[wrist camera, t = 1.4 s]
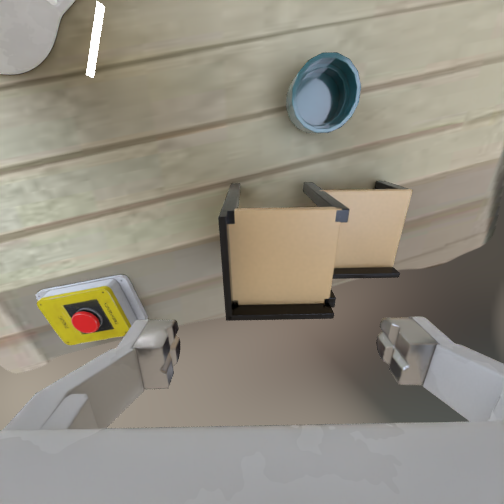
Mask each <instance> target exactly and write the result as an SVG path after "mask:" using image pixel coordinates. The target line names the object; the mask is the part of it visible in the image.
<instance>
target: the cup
mask: <svg viewBox="0 0 504 504" xmlns="http://www.w3.org/2000/svg"><path fill="white" fill-rule="evenodd" d="M360 91H361V83H360V78H359V73H358V70H357V69H356V67H355V66H354V65H353V63H352V62H351V60H350V59H349V58H347V57H345V56H343V55H341V54H339V53H337V52H333V53H321V54H319V55H317V56H315V57H313V58H312V59H310V60H309V61H308V62H307V63H306V64H305V65H304V66H303V67H302V69H301V70H300V71H299V72H298V73H297V75H296V76H295V77H294V79H293V80H292V82H291V84H290V87H289V89H288V92H287V99H286V109H287V112H288V115H289V118H290V120H291V121H292V123H293V124H294V125H295V126H296V127H297V128H298V129H299V130H301V131H304V132H306V133H329V132H331V131H334V130H336V129H338V128H340V127H342V126H343V125H344V124H345V123H346V122H347V121H348V120H349V119H350V118H351V117H352V115H353V113H354V111H355V109H356V107H357V105H358V103H359V97H360Z"/></svg>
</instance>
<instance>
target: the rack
mask: <svg viewBox="0 0 504 504" xmlns="http://www.w3.org/2000/svg"><path fill="white" fill-rule="evenodd" d="M412 191H413V190H411V189H408V188H405V187H402V186H399V185H396V184H393V183H390V182H386V181H376V184H375V189H361V190H323V189H321V188H320V187H318V186H317V185H316V184H314V183H313V182H304V185H303V192H304V193H305V194H306V195H307V196H308V197H309V198H310V199H311V200H312V201H313V202H314V203H315V204H316V205H317V207H294V208H238V206H239V199H240V183H235V184H231V185H230V188H229V191H228V193H227V196H226V199H225V201H224V204H223V206H222V209H221V212H220V215H219V217H218V219H219V232H220V246H221V259H222V272H223V285H224V298H225V312H226V320H276V319H277V320H278V319H328V318H329V319H331V318H333V317H334V313H333V310H332V308H331V307H334V306H335V299H336V297H335V296H334V294H333V292H332V290H331V285H332V279H338V278H391V277H399V275H400V273H399V272H398V271H397V270H396V269H395V268H393V264H394V260H395V256H396V252H397V248H398V245H399V241H400V237H401V233H402V229H403V225H404V222H405V218H406V214H407V210H408V206H409V203H410V199H411V195H412Z"/></svg>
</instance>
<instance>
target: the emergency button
mask: <svg viewBox="0 0 504 504" xmlns="http://www.w3.org/2000/svg"><path fill="white" fill-rule="evenodd" d="M36 298H37V299H38V302H37V306H38V308H39V309H40V310H41V312H42V313H43V315H44V316H45V317H46V319H47V320H48V321H49V323H50V324H51V326H52V327H53V328H54V330H55V331H56V333H57V334H58V335H59V337H60V338H61V340H62V341H63V342H64V343H65V344H67V345H75V344H81V343H87V342H92V341H98V340H104V339H110V338H116V337H121V336H125V334H126V333H127V332H128V330H129V329H130V327H131V326H132V324H133V323H134V322H135V321H136V320H147V319H148V316H147V314H146V312H145V310H144V308H143V306H142V304H141V302H140V300H139V298H138V296H137V294H136V292H135V290H134V288H133V286H132V283H131V281H130V279H129V278H128V277H127V276H125V275H115V276H110V277H105V278H100V279H94V280H89V281H84V282H79V283H74V284H69V285H63V286H58V287H53V288H48V289H43V290H41V291H39V292H38V293H37V294H36Z"/></svg>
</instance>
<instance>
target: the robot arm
mask: <svg viewBox="0 0 504 504" xmlns="http://www.w3.org/2000/svg"><path fill="white" fill-rule="evenodd" d="M74 1H75V0H0V74H8V75H12V74H20V73H24V72H27V71H30V70H32V69H33V68H35V67H37V66H38V65H39V64H40V63H41V62H42V61H43V60H44V59H45V58H46V57H47V56H48V54H49V52H50V51H51V49H52V47H53V44H54V42H55V39H56V35H57V31H58V27H59V23H60V20H61V18H62V15H63V14H64V13H65V12H66V11H67V10H68V9H69V7H70V6H71V5H72V4H73V3H74ZM104 9H105V7H104V6H103V5H102V4H101V3H99V2H97V4H96V11H95V18H94V25H93V31H92V38H91V45H90V52H89V59H88V66H87V73H86V75H88V76H90V77H93V78H94V72H95V66H96V60H97V53H98V47H99V41H100V34H101V28H102V21H103V15H104ZM380 328H381V329H382V332H381V333H380V334H379V335H378V337H377V342H376V343H377V350H378V353H379V355H380V357H381V358H382V360H383V361H384V362H386V363H388V364H389V365H390V368H389V370H390V372H391V373H392V374H393V376H394V378H395V379H396V381H397V382H398V383H399V385H423V387H425V388H426V389H427V390H429V391H430V392H431V393H433V394H434V395H435V396H437V397H438V398H439V399H441V400H442V401H443V402H445V403H446V404H447V405H449V406H450V407H451V408H453V409H454V410H455V411H457V412H458V413H459V414H461V415H462V416H463V417H465V418H466V419H467V420H469V421H470V422H433V423H431V422H430V423H373V424H319V425H318V424H317V425H265V426H214V427H213V426H212V427H159V428H108V429H107V427H108V426H109V425H110V424H111V423H112V422H113V421H114V420H115V419H116V418H117V417H118V416H119V415H120V414H121V413H122V412H123V411H124V410H125V409H126V408H127V407H128V406H129V405H130V404H131V403H132V402H133V401H134V400H135V399H136V398H137V397H138V396H139V395H140V394H141V393H143V391H144V389H165V388H169V385H170V382H171V379H172V376H173V374H174V371H173V366H174V365H175V364H177V362H178V359H179V354H180V339H179V337H178V336H177V335H176V334H177V331H178V323H177V321H176V320H136V321H135V322H134V323H133V324H132V326H131V327H130V329H129V330H128V332H127V333H126V334H125V336H124V337H123V339H122V340H121V342H120V343H119V344H118V346H117V347H116V349H110V350H109V351H107V352H105V353H104V354H102V355H100V356H98V357H97V358H95V359H93V360H92V361H90V362H88V363H86V364H85V365H83V366H81V367H80V368H78V369H76V370H75V371H73V372H71V373H69V374H68V375H66V376H64V377H63V378H61V379H59V380H58V381H56V382H54V383H53V384H51V385H50V386H47V387H46V388H44V389H42V390H41V391H39V392H37V393H36V394H35V395H34V396H33V397H32V398H31V399H30V401H29V402H28V403H27V404H26V405H25V406H24V407H23V408H22V409H21V410H20V412H19V413H18V414H17V415H16V416H15V417H14V418H13V419H12V420H11V421H10V423H9V424H8V425H7V426H6V427H5V428H4V429H3V430H0V504H504V364H502V363H500V362H498V361H496V360H494V359H491V358H489V357H487V356H485V355H482V354H480V353H478V352H476V351H474V350H471V349H469V348H467V347H464V346H462V345H460V344H455V343H453V342H452V341H451V340H450V339H449V338H448V337H447V336H445V335H444V334H443V333H442V332H441V331H440V330H439V329H438V328H436V327H435V326H434V325H433V324H432V323H431V322H430V321H428V320H427V319H426V318H424V317H406V318H383V319H382V321H381V324H380Z"/></svg>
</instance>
